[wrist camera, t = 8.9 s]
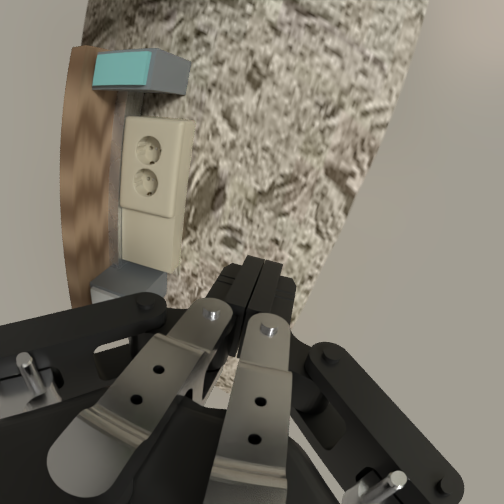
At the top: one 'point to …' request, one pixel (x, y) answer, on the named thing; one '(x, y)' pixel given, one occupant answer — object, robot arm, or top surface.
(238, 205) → the top surface
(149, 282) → the block
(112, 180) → the metal rail
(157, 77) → the module
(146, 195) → the electrical outlet
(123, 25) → the top surface
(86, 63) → the mounting panel
